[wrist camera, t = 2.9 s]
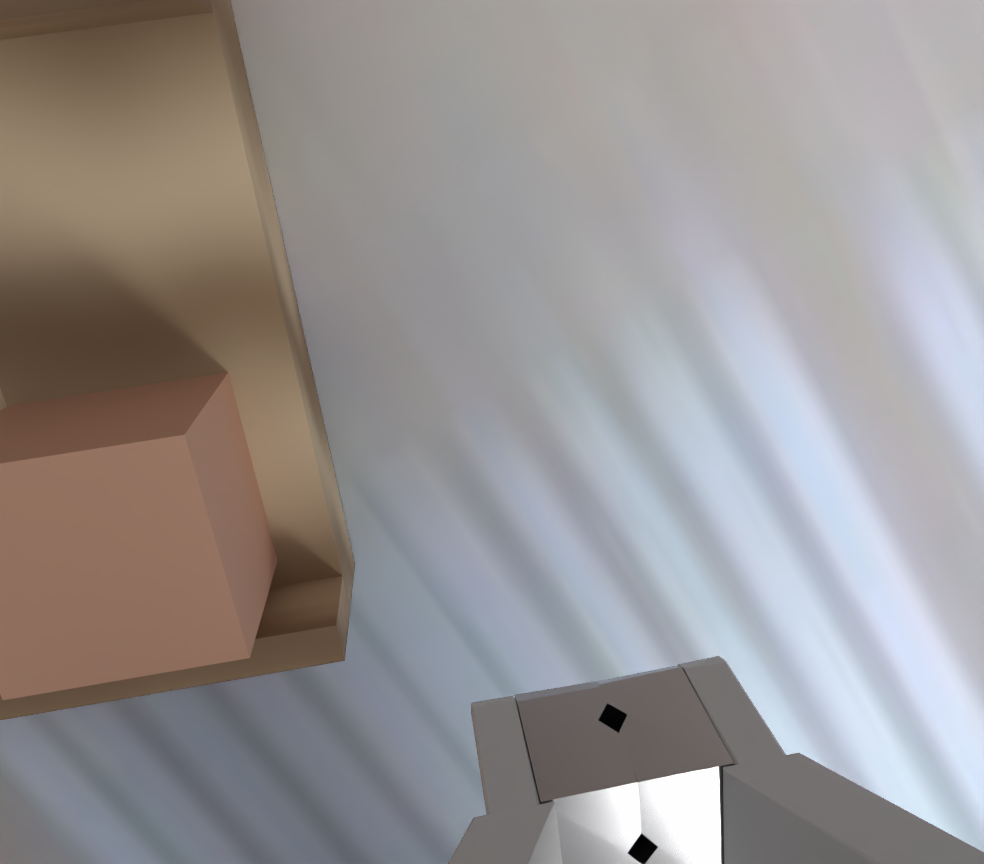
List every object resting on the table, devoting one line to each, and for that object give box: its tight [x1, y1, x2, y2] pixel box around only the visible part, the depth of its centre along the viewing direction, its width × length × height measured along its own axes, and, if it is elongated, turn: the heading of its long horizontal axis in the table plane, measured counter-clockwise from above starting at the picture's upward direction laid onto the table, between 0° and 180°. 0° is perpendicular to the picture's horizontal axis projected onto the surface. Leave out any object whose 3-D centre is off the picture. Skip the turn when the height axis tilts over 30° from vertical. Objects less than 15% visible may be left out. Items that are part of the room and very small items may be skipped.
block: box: [0, 373, 278, 700], centre depth 17 cm, size 5×5×4 cm
